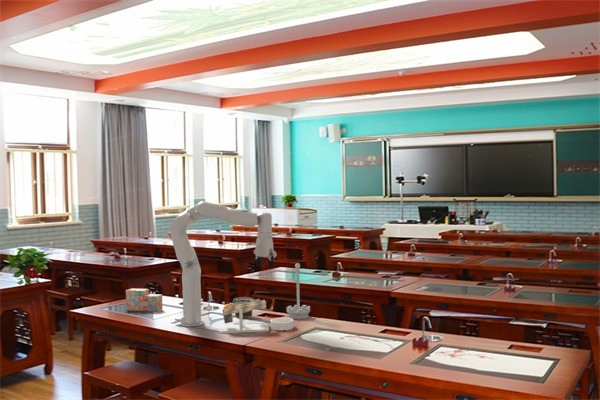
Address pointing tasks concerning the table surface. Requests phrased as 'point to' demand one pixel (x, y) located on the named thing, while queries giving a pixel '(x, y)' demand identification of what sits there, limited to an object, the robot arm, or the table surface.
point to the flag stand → (298, 303)
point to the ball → (227, 306)
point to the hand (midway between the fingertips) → (264, 267)
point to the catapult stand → (243, 326)
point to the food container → (243, 301)
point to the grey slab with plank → (245, 307)
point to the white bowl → (282, 324)
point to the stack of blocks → (143, 300)
